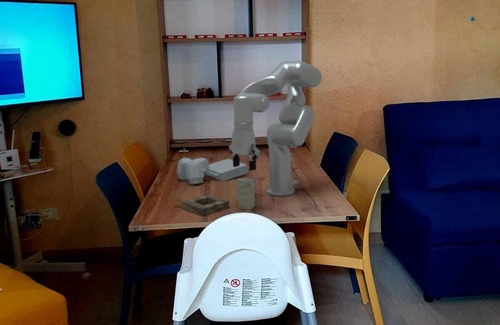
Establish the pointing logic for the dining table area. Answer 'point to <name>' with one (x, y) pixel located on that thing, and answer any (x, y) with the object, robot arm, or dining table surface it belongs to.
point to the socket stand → (200, 205)
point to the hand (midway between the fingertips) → (244, 168)
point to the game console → (208, 170)
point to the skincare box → (245, 193)
